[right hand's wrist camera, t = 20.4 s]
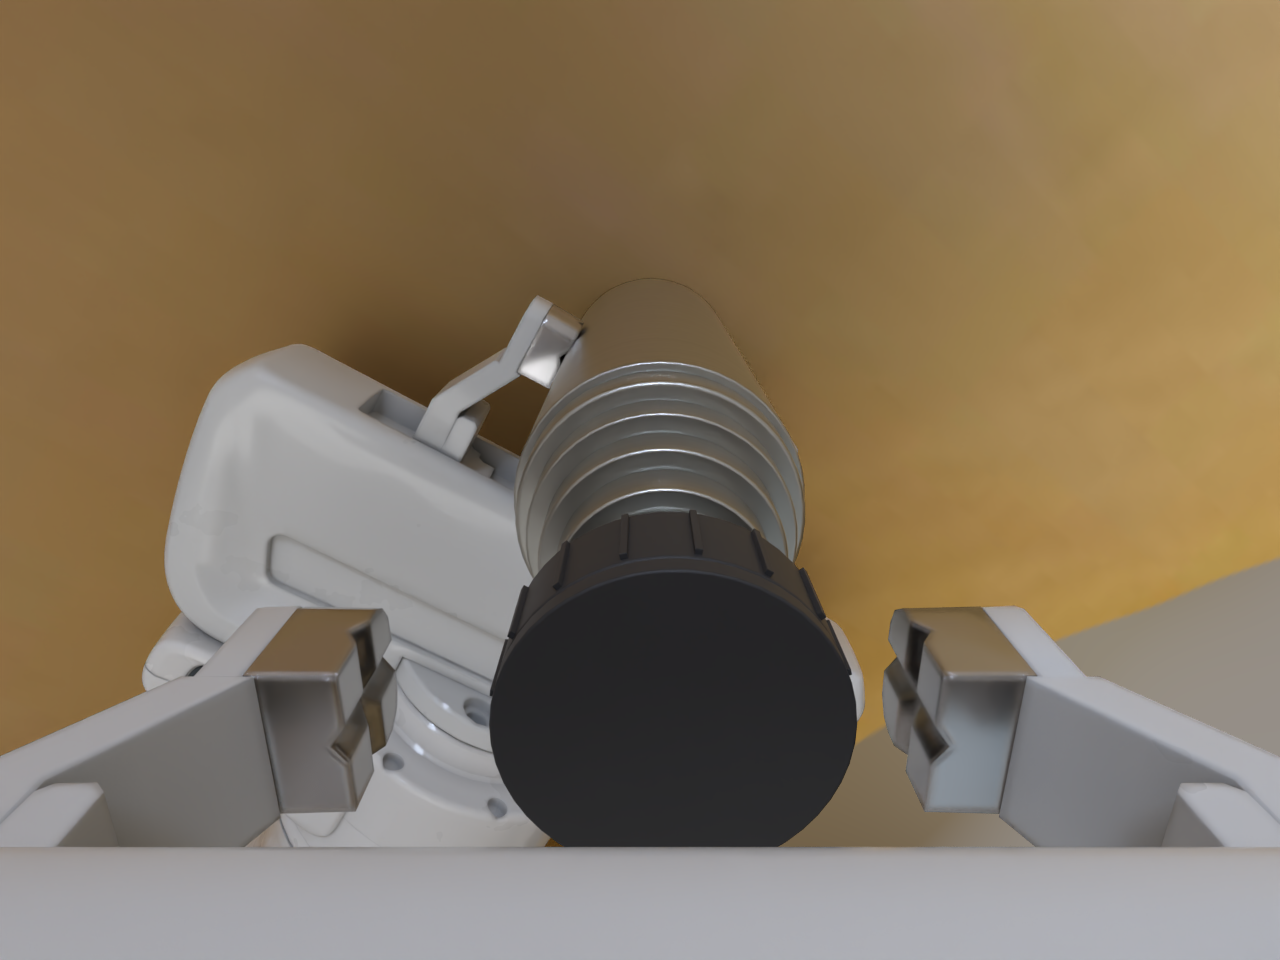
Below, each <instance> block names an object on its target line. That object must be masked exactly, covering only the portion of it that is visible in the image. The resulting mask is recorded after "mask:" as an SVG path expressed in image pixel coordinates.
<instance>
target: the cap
mask: <svg viewBox="0 0 1280 960" xmlns="http://www.w3.org/2000/svg"><path fill="white" fill-rule="evenodd" d="M825 618H826V615H825V613H824V611H823V608H822V606H821V604H820V601H819V599H818V597H817V594H816V592H815V590H814V588H813V585H812V583H811V581H810V578H809V576H808V574H807V572H806V570H805V569H804V568H802V569H800V570H799V569H798V568H797V567H796V566H795V564H794V563H793V562H792V561H791V560H790V559H789V558H788V557H786V556H785V555H784V554H783V553H782V552H781V551H780V550H779V549H778V548H776V547H775V546H774V545H772V544H771V543H769V542H768V541H767V540H765V539H764V538H762V536H761V534H760V531H758V530H756V529H753V530H752V532H751V531H749V530H748V529H746V528H744V527H741V526H739V525H736V524H733V523H731V522H728V521H726V520H722V519H718V518H714V517H710V516H706V515H701V514H697V511H696V510H689V513H684V512H657V513H649V514H641V515H635V516H631V517H629V515H628V514H623V515H621V519H619V520H615V521H612V522H610V523H607V524H605V525H602V526H599V527H597V528H595V529H593V530H591V531H589V532H587V533H585V534H583V535H582V536H580V537H578V538H576V539H575V540H573V541H572V542H571V543H569V542H568V541H567V540H566V541H565V542H564V543H562V544H561V549H560V551H558V552H557V553H556V554H555V555H554V556H553V557H552V558H551V559H550V560H549V561H548V562H547V563H546V564H545V565H544V566H543V567H542V569H541V570H540V571H539V572H538V574H537V575H536V576H535V577H534V579H533V580H532V582H531V583H530V585H529V587H527V586H525V585H523V587H522V589H521V591H520V595H519V598H518V602H517V605H516V608H515V612H514V615H513V618H512V622H511V625H510V629H509V632H508V635H507V637H509V639H505V642H504V645H503V648H502V652H501V655H500V658H499V662H498V665H497V668H496V672H495V675H494V679H493V682H492V685H491V689H490V696H492V700H491V704H490V718H489V730H490V742H491V747H492V751H493V756H494V760H495V764H496V766H497V769H498V771H499V773H500V776H501V778H502V781H503V783H504V785H505V787H506V788H507V790H508V792H509V793H510V795H511V797H512V798H513V800H514V801H515V803H516V804H517V805H518V806H519V808H520V809H521V810H522V811H523V813H524V814H525V815H526V816H527V817H528V818H529V819H530V820H531V821H532V822H533V823H534V824H535V825H536V826H537V827H538V828H539V829H540V830H541V831H543V832H544V833H545V834H547V835H548V836H549V837H551V838H552V839H553V840H555V841H556V842H557V843H559V844H561V845H562V846H564V847H778V846H780V845H782V844H783V843H785V842H786V841H788V840H789V839H791V838H792V837H793V836H795V835H796V834H797V833H799V832H800V831H801V830H803V829H804V828H805V827H806V826H807V825H808V824H809V823H810V822H811V821H812V820H813V819H814V818H815V817H816V816H818V814H819V813H820V812H821V811H822V809H823V808H824V807H825V806H826V805H827V803H828V802H829V801H830V800H831V798H832V797H833V795H834V793H835V792H836V790H837V789H838V787H839V785H840V784H841V782H842V779H843V777H844V775H845V773H846V770H847V768H848V766H849V764H850V760H851V756H852V752H853V749H854V745H855V739H856V730H857V708H856V699H855V695H854V690H853V685H852V681H851V679H850V676H849V675H852V672H851V668H850V666H849V663H848V661H847V659H846V657H845V654H844V652H843V650H842V647H841V645H840V643H839V641H838V638H837V636H836V634H835V631H834V629H833V627H832V625H831V622H830V620H826V619H825Z"/></svg>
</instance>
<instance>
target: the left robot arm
mask: <svg viewBox="0 0 1280 960" xmlns="http://www.w3.org/2000/svg"><path fill="white" fill-rule="evenodd" d="M583 324H584V322H583V321H582V320H580V319H578V318H577V317H575V316H573V315H572V314H570V313H568V312H566V311H565V310H563V309H561V308H560V307H558V306H556V305H555V304H554V305H553V303H552V302H550V301H548V300H546V299H544V298H542V297H540V296H538V295H537V296H536V297H535V298H534V299H533V300H532V302H531V303H530V305H529V307H528V308H527V310H526V312H525V313H524V315H523V317H522V319H521V321H520V323H519V325H518V327H517V329H516V331H515V333H514V335H513V336H512V338H511V340H510V342H509V344H508V346H507V348H504V349H502V350H501V351H499V352H497V353H496V354H494V355H492V356H491V357H489V358H487V359H486V360H484V361H482V362H481V363H479V364H477V365H476V366H474V367H472V368H471V369H469V370H467V371H466V372H464V373H462V374H461V375H459V376H458V377H456V378H454V379H453V380H451V381H449V382H448V383H447V384H446V385H445V386H444V388H443V389H442V390H441V391H440V392H439V393H438V394H437V395H436V396H435V397H434V398H433V399H432V400H431V402H430V404H429V406H428V408H427V407H425V406H423V405H421V404H419V403H418V402H416V401H414V400H412V399H410V398H408V397H406V396H404V395H402V394H400V393H398V392H397V391H395V390H393V389H391V388H389V387H387V386H385V385H383V384H381V383H379V382H378V381H376V380H374V379H372V378H370V377H368V376H366V375H364V374H362V373H360V372H359V371H357V370H355V369H353V368H351V367H349V366H347V365H345V364H343V363H341V362H340V361H338V360H336V359H334V358H332V357H330V356H328V355H326V354H324V353H323V352H321V351H319V350H317V349H315V348H313V347H310V346H308V345H304V344H292V345H288V346H285V347H282V348H279V349H275V350H272V351H269V352H266V353H263V354H260V355H257V356H255V357H252V358H250V359H248V360H246V361H244V362H242V363H240V364H239V365H237V366H235V367H233V368H232V369H230V370H229V371H228V372H226V373H225V374H224V375H223V376H222V377H221V378H220V379H219V380H218V381H217V382H216V383H215V385H214V386H213V387H212V389H211V391H210V392H209V394H208V397H207V399H206V401H205V403H204V406H203V408H202V410H201V413H200V415H199V418H198V421H197V424H196V426H195V429H194V432H193V435H192V438H191V441H190V444H189V447H188V450H187V453H186V457H185V460H184V464H183V467H182V471H181V474H180V478H179V482H178V486H177V490H176V494H175V497H174V502H173V506H172V511H171V516H170V521H169V525H168V531H167V536H166V542H165V552H164V566H165V574H166V579H167V584H168V587H169V590H170V592H171V595H172V597H173V599H174V601H175V602H176V604H177V606H178V607H179V609H180V610H181V611H182V612H181V613H180V614H179V615H178V616H177V617H176V619H175V620H174V621H173V622H172V623H171V625H170V626H169V627H168V629H167V630H166V631H165V632H164V634H163V635H162V636H161V638H160V639H159V640H158V642H157V643H156V645H155V646H154V648H153V649H152V651H151V652H150V654H149V656H148V658H147V660H146V662H145V665H144V668H143V672H142V682H143V686H144V688H145V690H146V691H149V690H151V689H153V688H155V687H158V686H160V685H162V684H164V683H167V682H169V681H171V680H174V679H176V678H178V677H186V676H195V674H196V673H197V672H198V671H199V670H200V669H201V668H202V667H203V666H204V665H205V664H206V663H207V661H208V660H209V659H210V658H211V657H212V656H213V655H214V654H215V653H216V652H217V651H218V650H219V648H220V647H221V646H222V645H223V644H224V643H225V642H226V641H227V640H228V639H229V638H230V637H231V636H232V634H233V633H234V632H235V631H236V630H237V629H238V628H239V627H240V626H241V625H242V624H243V623H244V621H245V620H246V619H247V618H248V617H249V616H250V615H251V614H252V613H253V612H254V611H255V610H256V609H257V608H261V607H276V606H301V607H346V608H383V610H384V611H385V613H386V614H387V616H388V619H389V625H390V632H391V638H392V640H391V642H390V644H389V646H388V648H387V650H386V652H385V653H384V655H383V657H384V659H385V660H386V661H387V662H388V663H389V664H390V665H391V666H392V667H393V668H394V669H395V671H396V679H397V688H398V689H397V711H396V716H395V721H394V726H393V730H392V733H391V735H390V737H389V740H388V742H387V744H386V746H385V747H383V748H382V749H380V750H379V751H377V752H376V753H374V754H373V755H372V757H373V764H374V773H373V775H372V777H371V779H370V782H369V784H368V786H367V788H366V790H365V792H364V795H363V797H362V799H361V801H360V803H359V805H358V808H357V810H356V812H324V813H288V814H280V815H281V818H280V819H278V820H277V821H276V822H275V823H273V824H272V825H271V826H270V827H268V828H267V829H266V830H265V831H264V832H262V833H261V834H260V835H259V836H257V837H256V838H255V839H254V840H253V841H251V842H250V843H249V844H248V845H246V846H245V847H544V846H545V845H546V843H547V842H548V841H549V839H550V838H551V837H549V836H548V835H547V834H545V833H544V832H543V831H541V830H540V829H539V828H538V827H537V826H536V825H535V824H534V823H533V822H532V821H531V820H530V819H529V818H528V817H527V816H526V815H525V814H524V813H523V811H522V810H521V809H520V808H519V806H518V805H517V804H516V803H515V801H514V800H513V798H512V797H511V795H510V793H509V792H508V790H507V788H506V787H505V785H504V783H503V781H502V778H501V776H500V773H499V771H498V769H497V766H496V764H495V760H494V756H493V751H492V747H491V742H490V730H489V718H490V704H491V700H492V696H490V689H491V685H492V682H493V679H494V675H495V672H496V668H497V665H498V662H499V658H500V655H501V652H502V648H503V645H504V642H505V639H509V637H507V635H508V632H509V629H510V625H511V622H512V618H513V615H514V612H515V608H516V605H517V602H518V598H519V595H520V591H521V589H522V587H523V585H525V586H527V587H529V585H530V583H531V582H532V580H533V578H532V576H531V575H530V573H529V571H528V568H527V566H526V564H525V562H524V559H523V557H522V554H521V550H520V547H519V543H518V539H517V532H516V524H515V511H514V483H515V477H516V470H517V467H518V463H519V460H520V456H518V455H517V454H515V453H513V452H511V451H509V450H507V449H505V448H503V447H501V446H499V445H497V444H496V443H494V442H492V441H490V440H488V439H486V438H484V437H482V436H480V435H478V433H479V431H480V429H481V427H482V425H483V423H484V421H485V419H486V417H487V415H488V413H489V411H490V409H491V407H490V404H489V403H488V402H486V401H484V400H482V399H483V398H485V397H487V396H488V395H490V394H492V393H493V392H495V391H496V390H498V389H500V388H501V387H503V386H505V385H506V384H508V383H509V382H511V381H513V380H514V379H516V378H518V377H519V376H521V375H523V376H525V377H527V378H529V379H531V380H533V381H535V382H537V383H539V384H541V385H543V386H545V387H547V388H548V389H549V388H550V386H551V384H552V383H553V381H554V379H555V377H556V375H557V372H558V370H559V368H560V366H561V364H562V361H563V359H564V357H565V355H566V354H567V353H568V351H569V350H570V348H571V347H572V346H573V344H574V342H575V340H576V339H577V337H578V335H579V333H580V331H581V329H582V327H583ZM793 443H794V442H793ZM794 446H795V444H794ZM795 448H796V450H797V453H798V449H797V447H796V446H795ZM825 619H826V620H830V619H829V618H827V617H826V618H825ZM830 622H831V625H832V627H833V629H834V631H835V634H836V636H837V638H838V641H839V643H840V645H841V647H842V650H843V652H844V654H845V657H846V659H847V661H848V663H849V666H850V668H851V672H852V675H849V676H850V679H851V681H852V685H853V690H854V695H855V699H856V708H857V721H858V720H859V718H860V717H861V715H862V713H863V710H864V706H865V689H864V680H863V674H862V671H861V668H860V665H859V663H858V661H857V658H856V656H855V654H854V651H853V649H852V647H851V645H850V643H849V641H848V639H847V637H846V635H845V634H844V632H843V630H842V629H841V628H840V626H839V625H838V624H836V623H835V622H834V621H832V620H830Z"/></svg>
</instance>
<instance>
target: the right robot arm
mask: <svg viewBox="0 0 1280 960" xmlns="http://www.w3.org/2000/svg"><path fill="white" fill-rule="evenodd" d="M391 640H392V638H391V632H390V625H389V619H388V616H387V614H386V613H385V611H384V610H383V608H346V607H301V606H276V607H261V608H257V609H256V610H255V611H254V612H253V613H252V614H251V615H250V616H249V617H248V618H247V619H246V620H245V621H244V623H243V624H242V625H241V626H240V627H239V628H238V629H237V630H236V631H235V632H234V633H233V634H232V636H231V637H230V638H229V639H228V640H227V641H226V642H225V643H224V644H223V645H222V646H221V647H220V648H219V650H218V651H217V652H216V653H215V654H214V655H213V656H212V657H211V658H210V659H209V660H208V661H207V663H206V664H205V665H204V666H203V667H202V668H201V669H200V670H199V671H198V672H197V673H196V674H195V676H186V677H178V678H176V679H174V680H171V681H169V682H167V683H164V684H162V685H160V686H158V687H155V688H153V689H151V690H149V691H146V692H144V693H142V694H140V695H137V696H135V697H133V698H131V699H128V700H126V701H124V702H122V703H119V704H117V705H115V706H112V707H110V708H108V709H106V710H103V711H101V712H99V713H97V714H94V715H92V716H90V717H88V718H85V719H83V720H81V721H79V722H76V723H74V724H72V725H70V726H67V727H65V728H63V729H60V730H58V731H56V732H54V733H51V734H49V735H47V736H45V737H42V738H40V739H38V740H36V741H33V742H31V743H29V744H27V745H24V746H22V747H20V748H18V749H15V750H13V751H11V752H8V753H6V754H4V755H2V756H0V960H1280V756H1278V755H1276V754H1273V753H1271V752H1269V751H1266V750H1264V749H1262V748H1260V747H1258V746H1255V745H1253V744H1251V743H1248V742H1246V741H1244V740H1242V739H1239V738H1237V737H1235V736H1233V735H1230V734H1228V733H1226V732H1224V731H1221V730H1219V729H1217V728H1215V727H1212V726H1210V725H1208V724H1206V723H1203V722H1201V721H1199V720H1197V719H1194V718H1192V717H1190V716H1188V715H1185V714H1183V713H1181V712H1179V711H1176V710H1174V709H1172V708H1169V707H1167V706H1165V705H1163V704H1161V703H1158V702H1156V701H1154V700H1152V699H1149V698H1147V697H1145V696H1143V695H1140V694H1138V693H1136V692H1133V691H1131V690H1129V689H1127V688H1124V687H1122V686H1120V685H1118V684H1115V683H1113V682H1111V681H1109V680H1106V679H1104V678H1102V677H1094V676H1093V677H1092V676H1085V674H1084V673H1083V672H1082V671H1081V670H1080V669H1079V668H1078V667H1077V666H1076V665H1075V664H1074V663H1073V661H1072V660H1071V659H1070V658H1069V657H1068V656H1067V655H1066V654H1065V653H1064V652H1063V651H1062V650H1061V649H1060V647H1059V646H1058V645H1057V644H1056V643H1055V642H1054V641H1053V640H1052V639H1051V638H1050V637H1049V635H1048V634H1047V633H1046V632H1045V631H1044V630H1043V629H1042V628H1041V627H1040V626H1039V625H1038V624H1037V622H1036V621H1035V620H1034V619H1033V618H1032V617H1031V616H1030V615H1029V614H1028V613H1027V612H1026V611H1025V609H1023V608H1020V607H1017V606H996V607H944V608H903V609H898V610H895V611H894V614H893V617H892V620H891V623H890V631H889V638H888V640H889V642H890V644H891V646H892V648H893V650H894V652H895V653H896V655H897V658H896V659H895V660H894V661H893V662H892V663H891V664H890V665H889V666H888V667H887V668H886V669H885V671H884V680H883V691H882V697H883V711H884V718H885V722H886V726H887V730H888V733H889V735H890V738H891V740H892V742H893V744H894V746H895V747H897V748H898V749H900V750H901V751H903V752H904V753H906V754H907V755H908V757H907V765H906V773H907V775H908V777H909V779H910V782H911V784H912V786H913V788H914V790H915V792H916V794H917V797H918V799H919V801H920V803H921V805H922V807H923V809H924V811H925V812H956V813H991V814H999V817H1000V818H1001V819H1002V820H1003V821H1005V822H1006V823H1007V824H1008V825H1009V826H1011V827H1012V828H1013V829H1014V830H1016V831H1017V832H1018V833H1019V834H1021V835H1022V836H1023V837H1024V838H1025V839H1027V840H1028V841H1029V842H1030V843H1032V844H1033V845H1034V846H1035V847H245V846H246V845H248V844H249V843H250V842H251V841H253V840H254V839H255V838H256V837H257V836H259V835H260V834H261V833H262V832H264V831H265V830H266V829H267V828H268V827H270V826H271V825H272V824H273V823H275V822H276V821H277V820H278V819H280V818H281V815H280V814H288V813H324V812H356V810H357V808H358V805H359V803H360V801H361V799H362V797H363V795H364V792H365V790H366V788H367V786H368V784H369V782H370V779H371V777H372V775H373V773H374V764H373V757H372V755H373V754H374V753H376V752H377V751H379V750H380V749H382V748H383V747H385V746H386V744H387V742H388V740H389V737H390V735H391V733H392V730H393V726H394V721H395V716H396V711H397V689H398V688H397V679H396V671H395V669H394V668H393V667H392V666H391V665H390V664H389V663H388V662H387V661H386V660H385V659H384V657H383V655H384V653H385V652H386V650H387V648H388V646H389V644H390V642H391Z"/></svg>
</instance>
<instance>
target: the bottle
mask: <svg viewBox="0 0 1280 960" xmlns="http://www.w3.org/2000/svg"><path fill="white" fill-rule="evenodd" d="M581 320H582V321H583V322H584V324H583V327H582V329H581V331H580V333H579V335H578V337H577V339H576V340H575V342H574V344H573V346H572V347H571V348H570V350H569V351H568V353H567V354H566V355H565V357H564V359H563V361H562V364H561V366H560V368H559V370H558V372H557V375H556V377H555V379H554V381H553V384H552V386H551V388H550V390H549V392H548V395H547V397H546V399H545V401H544V404H543V406H542V408H541V410H540V413H539V415H538V417H537V419H536V422H535V424H534V426H533V428H532V430H531V433H530V435H529V437H528V439H527V442H526V444H525V446H524V448H523V451H522V453H521V456H520V460H519V463H518V467H517V470H516V477H515V483H514V511H515V524H516V532H517V539H518V543H519V547H520V550H521V554H522V557H523V559H524V562H525V564H526V566H527V568H528V571H529V573H530V575H531V576H532V578H533V579H534V577H535V576H536V575H537V574H538V572H539V571H540V570H541V569H542V567H543V566H544V565H545V564H546V563H547V562H548V561H549V560H550V559H551V558H552V557H553V556H554V555H555V554H556V553H557V552H558V551H560V549H561V544H562V543H564V542H565V541H566V540H567V541H568V542H569V543H571V542H572V541H573V540H575V539H576V538H578V537H580V536H582V535H583V534H585V533H587V532H589V531H591V530H593V529H595V528H597V527H599V526H602V525H605V524H607V523H610V522H612V521H615V520H619V519H621V515H623V514H628V515H629V517H631V516H635V515H641V514H649V513H657V512H684V513H689V510H696V511H697V514H701V515H706V516H710V517H714V518H718V519H722V520H726V521H728V522H731V523H733V524H736V525H739V526H741V527H744V528H746V529H748V530H749V531H751V532H752V530H753V529H756V530H758V531H760V534H761V536H762V538H764V539H765V540H767V541H768V542H769V543H771V544H772V545H774V546H775V547H776V548H778V549H779V550H780V551H781V552H782V553H783V554H784V555H785V556H786V557H788V558H789V559H790V560H791V561H792V562H793V563H795V561H796V558H797V556H798V553H799V549H800V546H801V542H802V539H803V532H804V525H805V491H804V479H803V472H802V467H801V463H800V460H799V456H798V453H797V450H796V448H795V446H794V443H793V441H792V439H791V437H790V435H789V433H788V431H787V430H786V428H785V426H784V425H783V423H782V421H781V420H780V418H779V416H778V415H777V413H776V411H775V410H774V408H773V406H772V405H771V403H770V402H769V400H768V398H767V397H766V395H765V393H764V392H763V390H762V388H761V387H760V385H759V383H758V382H757V380H756V378H755V377H754V375H753V374H752V372H751V370H750V369H749V367H748V365H747V364H746V362H745V360H744V359H743V357H742V355H741V354H740V352H739V350H738V349H737V347H736V346H735V344H734V342H733V341H732V339H731V337H730V336H729V334H728V332H727V331H726V329H725V327H724V326H723V324H722V323H721V321H720V319H719V318H718V316H717V315H716V313H715V311H714V310H713V309H712V308H711V306H710V305H709V304H708V303H707V302H706V301H705V300H704V299H703V298H702V297H701V296H699V295H698V294H697V293H695V292H694V291H692V290H691V289H689V288H687V287H685V286H683V285H681V284H678V283H675V282H672V281H667V280H662V279H639V280H634V281H630V282H626V283H624V284H621V285H618V286H616V287H615V288H613V289H611V290H609V291H607V292H606V293H605V294H603V295H602V296H600V297H599V298H598V299H597V300H596V301H595V302H594V303H593V304H592V305H591V306H590V308H589V309H588V310H587V311H586V313H585V314H584V316H583V318H582V319H581Z"/></svg>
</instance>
